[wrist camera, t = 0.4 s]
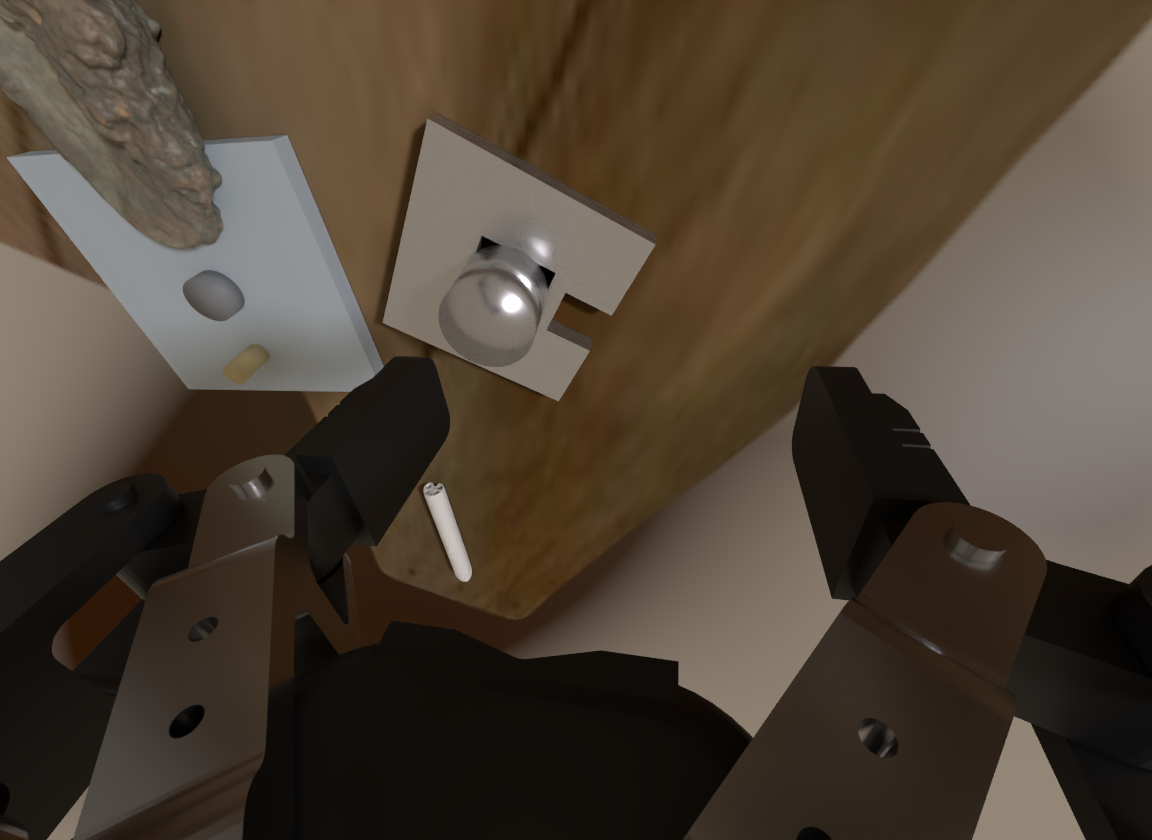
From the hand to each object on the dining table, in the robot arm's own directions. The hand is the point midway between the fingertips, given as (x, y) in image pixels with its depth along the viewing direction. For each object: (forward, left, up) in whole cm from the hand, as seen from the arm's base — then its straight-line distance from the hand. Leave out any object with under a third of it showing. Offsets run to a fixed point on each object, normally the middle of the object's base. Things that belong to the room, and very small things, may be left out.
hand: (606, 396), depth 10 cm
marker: (+38, -20, -22) cm, 48 cm away
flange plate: (+7, -8, -21) cm, 24 cm away
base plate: (+7, -29, -21) cm, 37 cm away
